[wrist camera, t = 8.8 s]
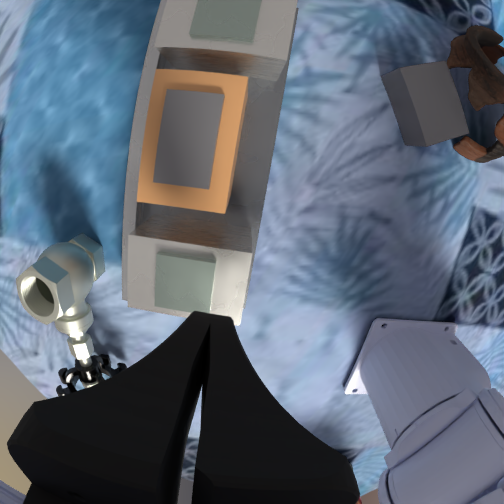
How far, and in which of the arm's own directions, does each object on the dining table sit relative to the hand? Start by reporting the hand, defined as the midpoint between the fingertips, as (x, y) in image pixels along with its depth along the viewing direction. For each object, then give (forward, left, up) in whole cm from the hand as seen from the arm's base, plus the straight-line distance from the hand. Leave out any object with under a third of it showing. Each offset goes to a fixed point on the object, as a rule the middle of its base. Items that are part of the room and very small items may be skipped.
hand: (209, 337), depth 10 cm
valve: (+10, +6, -11) cm, 16 cm away
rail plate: (+2, -6, -10) cm, 12 cm away
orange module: (+2, -6, -9) cm, 11 cm away
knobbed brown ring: (-18, -15, -11) cm, 25 cm away
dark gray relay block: (-11, -12, -11) cm, 19 cm away
